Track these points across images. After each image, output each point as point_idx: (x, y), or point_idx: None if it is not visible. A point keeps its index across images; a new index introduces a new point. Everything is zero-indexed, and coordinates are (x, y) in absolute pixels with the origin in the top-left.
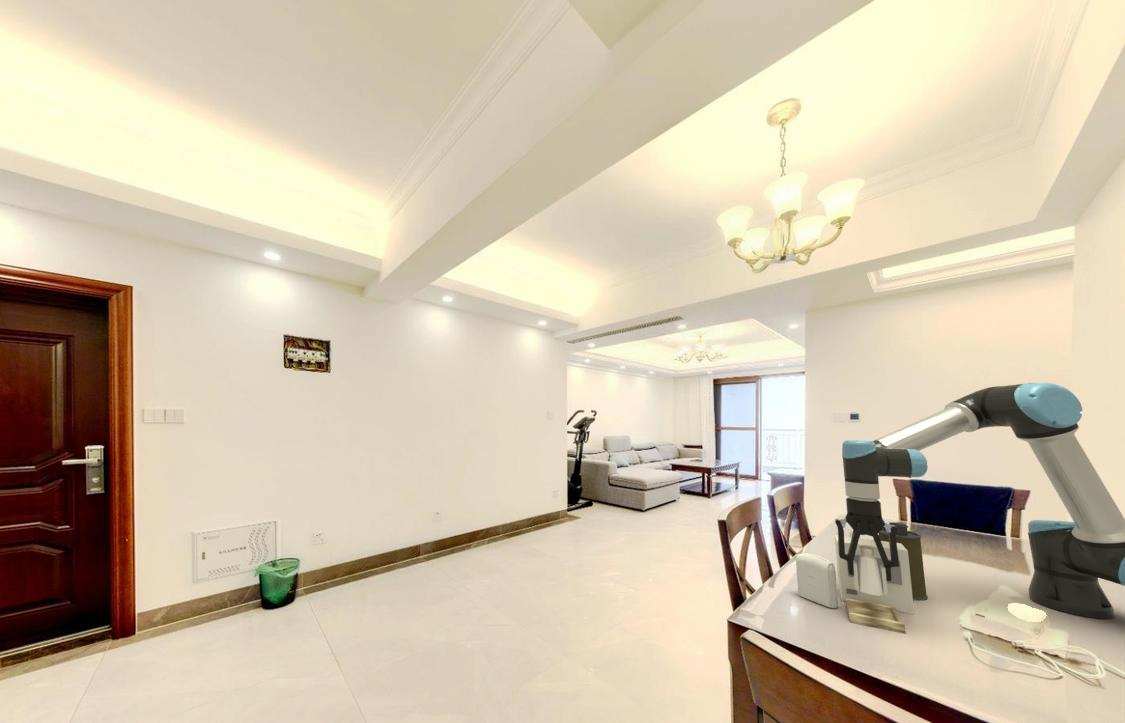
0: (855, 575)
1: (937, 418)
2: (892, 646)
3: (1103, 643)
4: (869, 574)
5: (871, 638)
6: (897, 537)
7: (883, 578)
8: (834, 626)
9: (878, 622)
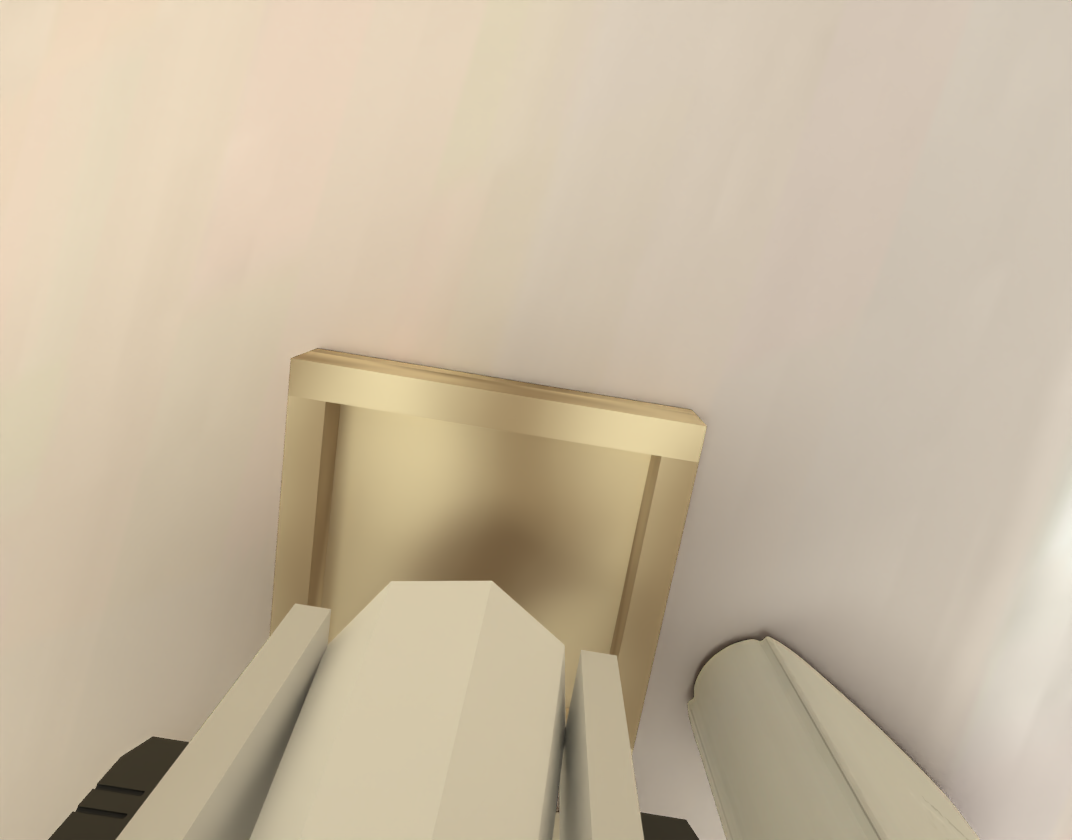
0: (622, 783)
1: None
2: (500, 35)
3: None
4: (425, 767)
5: (622, 134)
6: None
7: (233, 740)
8: (859, 267)
9: (489, 384)
